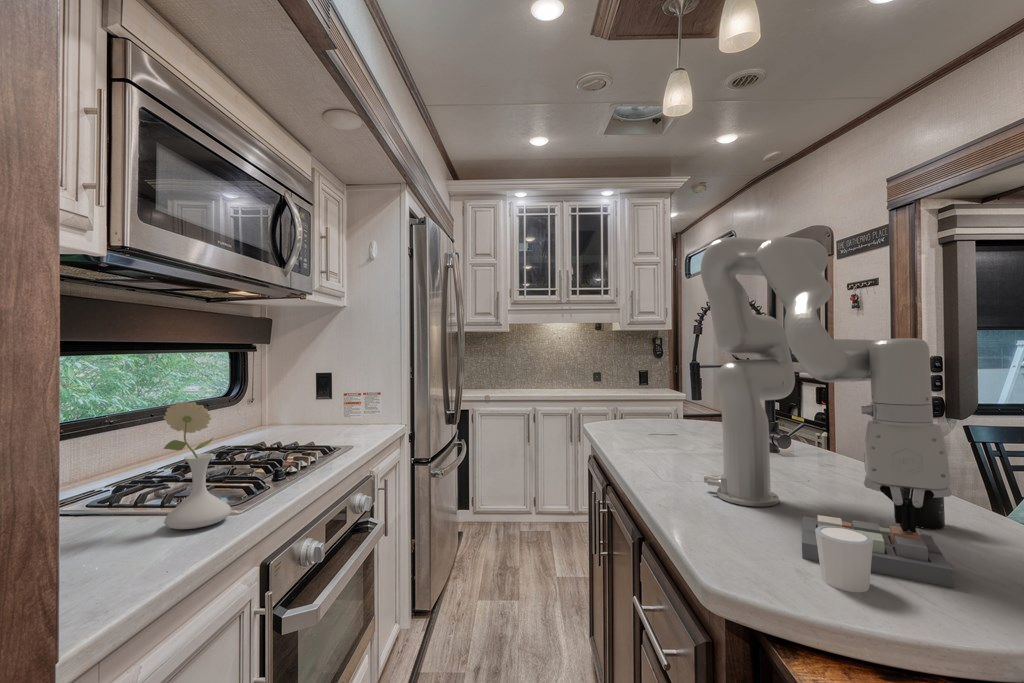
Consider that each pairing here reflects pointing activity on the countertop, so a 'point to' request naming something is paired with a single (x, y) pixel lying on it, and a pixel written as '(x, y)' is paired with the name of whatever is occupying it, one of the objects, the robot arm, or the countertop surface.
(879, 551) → the key sage
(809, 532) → the keypad
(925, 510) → the supplement bottle
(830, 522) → the key cream
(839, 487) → the countertop surface
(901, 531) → the key terracotta
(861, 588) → the white oval cup
